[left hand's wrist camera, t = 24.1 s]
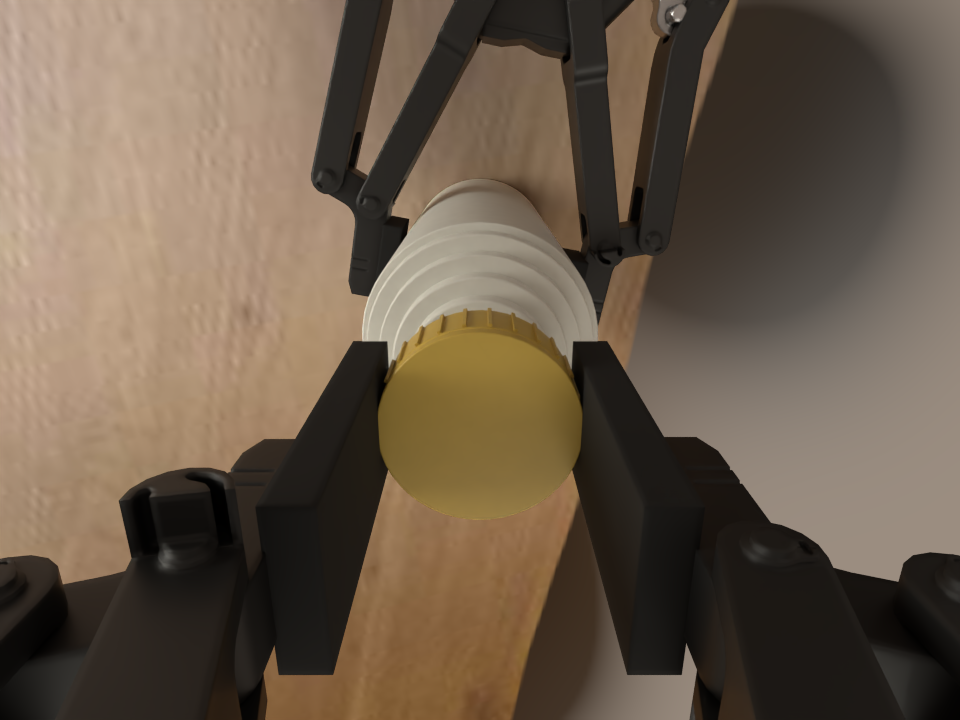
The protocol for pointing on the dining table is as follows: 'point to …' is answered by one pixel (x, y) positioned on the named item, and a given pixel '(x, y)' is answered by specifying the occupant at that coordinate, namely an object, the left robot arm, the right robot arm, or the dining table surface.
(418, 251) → the bottle
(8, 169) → the dining table surface
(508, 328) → the cap
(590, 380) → the left robot arm
